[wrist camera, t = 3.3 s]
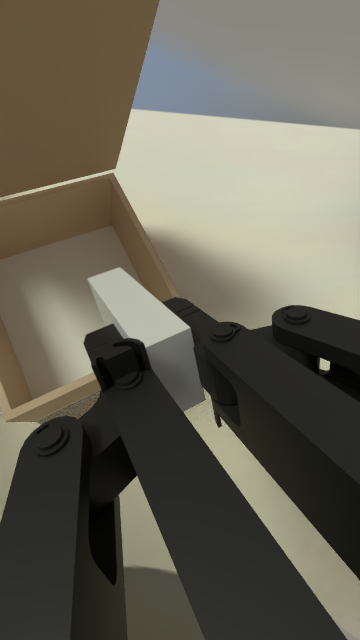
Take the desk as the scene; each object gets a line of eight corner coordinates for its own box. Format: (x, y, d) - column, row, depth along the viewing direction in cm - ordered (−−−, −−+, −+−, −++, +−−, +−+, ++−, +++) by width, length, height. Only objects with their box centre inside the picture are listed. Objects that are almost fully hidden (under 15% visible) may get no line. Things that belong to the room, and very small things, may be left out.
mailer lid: (-470, -59, 7) (-488, -89, 7) (-75, 215, 24) (-79, 208, 24) (174, -59, 12) (168, -75, 12) (115, 168, 29) (113, 162, 29)
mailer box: (35, 421, 28) (5, 421, 21) (-25, 265, 32) (-69, 218, 25) (181, 351, 33) (198, 331, 26) (114, 222, 37) (113, 172, 30)
